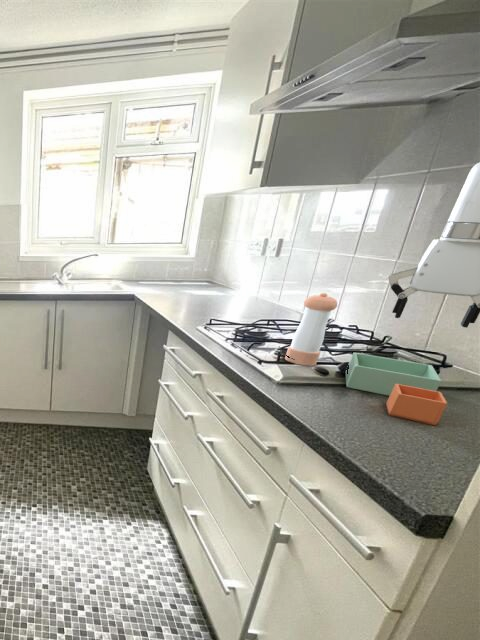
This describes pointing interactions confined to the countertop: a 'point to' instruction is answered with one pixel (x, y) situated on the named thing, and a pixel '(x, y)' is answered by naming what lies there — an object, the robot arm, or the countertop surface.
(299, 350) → the pepper shaker
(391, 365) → the big bin
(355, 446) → the countertop surface
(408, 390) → the small bin
